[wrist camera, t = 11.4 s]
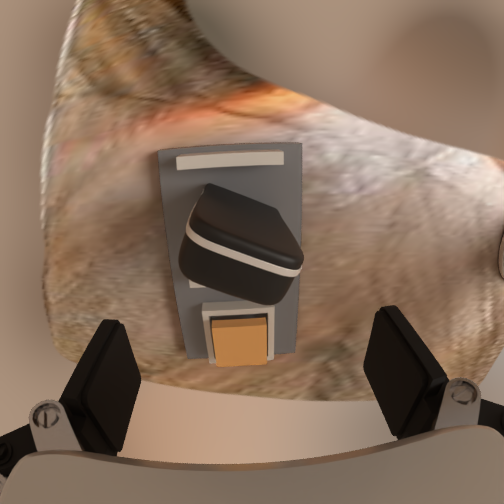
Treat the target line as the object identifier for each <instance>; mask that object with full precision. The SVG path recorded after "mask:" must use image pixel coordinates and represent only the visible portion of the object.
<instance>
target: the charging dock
mask: <svg viewBox="0 0 504 504" xmlns="http://www.w3.org/2000/svg"><path fill="white" fill-rule="evenodd" d="M158 163H159V174H160V185H161V195H162V204H163V213H164V221H165V229H166V237H167V244H168V251H169V258H170V265H171V271H172V278H173V284H174V290H175V296H176V302H177V307H178V313H179V318H180V323H181V329H182V334H183V339H184V343H185V348H186V353H187V358H188V359H197V358H209V363H216V357H215V350H214V343H213V335H212V320H232V319H249V318H264V317H265V318H266V323H267V360H274V354H285V353H295V347H296V333H297V317H298V300H299V279H300V273H299V274H298V275H297V276H296V277H295V278H294V280H293V282H292V284H291V286H290V288H289V290H288V292H287V293H286V295H285V296H284V298H283V299H282V300H281V301H280V302H279V303H277V304H274V305H269V306H268V305H261V304H257V303H254V302H251V301H247V300H244V299H241V298H238V297H234V296H231V295H228V294H225V293H222V292H219V291H216V290H214V289H211V288H208V287H205V286H202V285H199V284H197V283H195V282H192V281H191V280H189V279H187V278H186V277H185V276H184V275H183V273H182V272H181V270H180V268H179V263H178V256H179V251H180V247H181V243H182V240H183V237H184V234H185V232H186V225H187V222H188V219H189V216H190V213H191V211H192V209H193V207H194V205H195V204H196V202H197V201H198V200H199V198H200V196H201V194H202V191H203V189H205V186H206V185H207V184H208V183H212V184H214V185H217V186H220V187H223V188H225V189H228V190H231V191H233V192H236V193H238V194H241V195H244V196H246V197H249V198H251V199H254V200H256V201H259V202H261V203H264V204H266V205H269V206H271V207H274V208H276V209H278V211H279V213H280V215H281V217H282V219H283V220H284V222H285V223H286V225H287V226H288V228H289V229H290V231H291V232H292V234H293V235H294V237H295V239H296V240H297V242H298V244H299V246H300V248H301V221H302V143H243V144H222V145H207V146H194V147H182V148H172V149H162V150H159V151H158Z"/></svg>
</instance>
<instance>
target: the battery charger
mask: <svg viewBox="0 0 504 504" xmlns="http://www.w3.org/2000/svg"><path fill="white" fill-rule="evenodd" d="M303 261H304V255H303V252H302V250H301V248H300V246H299V244H298V242H297V240H296V239H295V237H294V235H293V234H292V232H291V231H290V229H289V228H288V226H287V225H286V223H285V222H284V220H283V219H282V217H281V215H280V213H279V211H278V209H276V208H274V207H271V206H269V205H266V204H264V203H261V202H259V201H256V200H254V199H251V198H249V197H246V196H244V195H241V194H238V193H236V192H233V191H231V190H228V189H225V188H223V187H220V186H217V185H214V184H212V183H208V184H207V185H206V186H205V189H203V191H202V194H201V196H200V198H199V200H198V201H197V202H196V204H195V205H194V207H193V209H192V211H191V213H190V216H189V219H188V222H187V225H186V232H185V234H184V237H183V240H182V243H181V247H180V251H179V256H178V263H179V268H180V270H181V272H182V273H183V275H184V276H185V277H186V278H187V279H189V280H191V281H192V282H195V283H197V284H199V285H202V286H205V287H208V288H211V289H214V290H216V291H219V292H222V293H225V294H228V295H231V296H234V297H238V298H241V299H244V300H247V301H251V302H254V303H257V304H261V305H268V306H269V305H274V304H277V303H279V302H280V301H281V300H282V299H283V298H284V296H285V295H286V293H287V292H288V290H289V288H290V286H291V284H292V282H293V280H294V278H295V277H296V276H297V275H298V274H299V273H300V271H301V269H302V263H303Z"/></svg>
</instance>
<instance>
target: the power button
mask: <svg viewBox="0 0 504 504" xmlns="http://www.w3.org/2000/svg"><path fill="white" fill-rule="evenodd" d="M212 335H213V343H214V350H215V357H216V364H217V367H227V366H246V365H260V364H267V323H266V318H265V317H264V318H249V319H232V320H212Z"/></svg>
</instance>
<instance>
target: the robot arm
mask: <svg viewBox="0 0 504 504" xmlns="http://www.w3.org/2000/svg"><path fill="white" fill-rule="evenodd" d="M498 262H499V270H500V274H501V276H502V277H503V278H504V235H503V238H502V241H501V245H500V251H499V261H498ZM363 367H364V372H365V374H366V376H367V379H368V381H369V383H370V385H371V388H372V390H373V392H374V394H375V397H376V399H377V401H378V403H379V406H380V408H381V410H382V413H383V415H384V417H385V420H386V422H387V424H388V427H389V429H390V431H391V434H392V435H393V436H397V439H398V440H397V441H393V442H389V443H385V444H381V445H377V446H373V447H368V448H365V449H360V450H355V451H350V452H345V453H339V454H334V455H328V456H321V457H314V458H307V459H300V460H291V461H280V462H268V463H252V464H188V463H187V464H186V463H171V462H159V461H149V460H141V459H132V458H124V457H117V452H120V451H121V450H122V448H123V444H124V440H125V437H126V433H127V429H128V425H129V422H130V418H131V415H132V411H133V408H134V404H135V401H136V397H137V394H138V391H139V387H140V384H141V375H140V372H139V369H138V366H137V363H136V361H135V358H134V355H133V352H132V349H131V346H130V343H129V339H128V336H127V333H126V330H125V327H124V325H123V324H120V322H119V321H118V320H109V319H104V320H103V321H102V322H101V324H100V325H99V327H98V329H97V331H96V332H95V334H94V336H93V337H92V339H91V341H90V343H89V345H88V346H87V348H86V350H85V352H84V354H83V355H82V357H81V359H80V361H79V363H78V364H77V366H76V368H75V370H74V372H73V374H72V376H71V378H70V380H69V382H68V384H67V385H66V387H65V389H64V391H63V393H62V395H61V398H60V399H59V401H54V400H45V401H41V402H40V403H38V404H36V405H35V406H34V407H33V408H32V410H31V412H30V415H29V424H27V425H25V426H23V427H21V428H18V429H16V430H14V431H12V432H10V433H8V434H5V435H3V436H1V437H0V504H504V406H502V405H499V404H496V403H493V402H490V401H487V400H484V399H481V392H480V389H479V387H478V386H477V385H476V384H475V383H474V382H473V381H471V380H469V379H467V378H461V377H460V378H454V379H452V380H450V381H449V379H448V378H447V375H446V373H445V372H444V370H443V369H442V367H441V366H440V364H439V363H438V362H437V360H436V359H435V357H434V356H433V354H432V353H431V352H430V350H429V349H428V348H427V346H426V345H425V343H424V342H423V341H422V339H421V338H420V337H419V335H418V334H417V332H416V331H415V330H414V328H413V327H412V326H411V324H410V323H409V322H408V320H407V319H406V318H405V317H404V315H403V314H402V313H401V311H400V310H399V309H398V307H397V306H395V305H392V306H384V307H381V308H380V309H379V311H377V312H376V313H375V318H374V322H373V327H372V331H371V335H370V340H369V344H368V348H367V352H366V356H365V360H364V364H363Z"/></svg>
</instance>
